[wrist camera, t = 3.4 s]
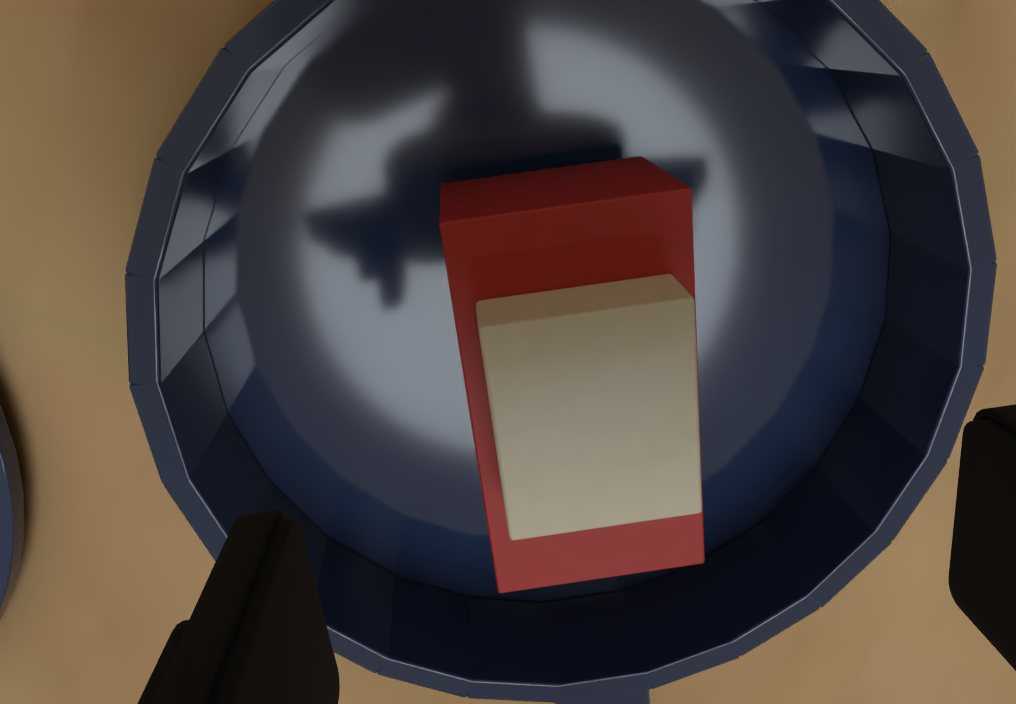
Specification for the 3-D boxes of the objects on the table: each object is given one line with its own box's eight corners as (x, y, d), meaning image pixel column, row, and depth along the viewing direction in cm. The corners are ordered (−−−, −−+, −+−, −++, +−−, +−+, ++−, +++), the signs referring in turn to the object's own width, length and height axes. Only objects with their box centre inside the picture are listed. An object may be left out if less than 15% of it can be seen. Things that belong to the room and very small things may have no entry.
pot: (940, -304, 15) (1076, -397, 12) (876, 631, 24) (944, 726, 20) (30, -188, 15) (-88, -249, 11) (301, 716, 23) (278, 827, 20)
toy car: (440, 174, 17) (437, 243, 12) (632, 149, 17) (718, 203, 12) (487, 475, 20) (503, 644, 15) (651, 451, 20) (728, 611, 15)
